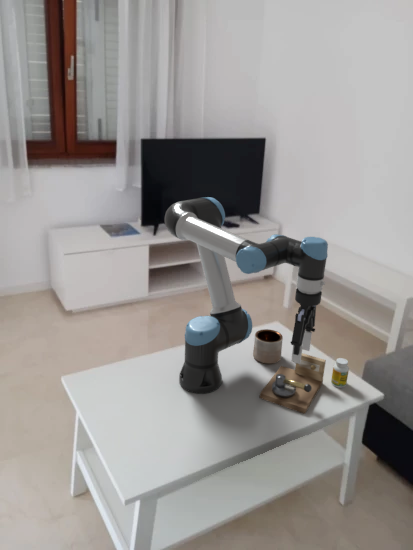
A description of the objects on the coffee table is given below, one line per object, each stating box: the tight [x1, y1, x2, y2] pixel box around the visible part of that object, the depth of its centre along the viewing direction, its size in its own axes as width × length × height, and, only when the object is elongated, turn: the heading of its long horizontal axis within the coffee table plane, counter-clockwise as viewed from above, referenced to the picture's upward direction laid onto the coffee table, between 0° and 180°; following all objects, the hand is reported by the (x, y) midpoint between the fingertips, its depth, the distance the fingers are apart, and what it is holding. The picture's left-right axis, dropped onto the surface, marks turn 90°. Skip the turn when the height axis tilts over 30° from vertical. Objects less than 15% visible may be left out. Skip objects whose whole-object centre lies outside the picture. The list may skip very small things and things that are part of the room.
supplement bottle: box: [330, 357, 350, 389], centre depth 169 cm, size 5×5×10 cm
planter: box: [252, 328, 284, 365], centre depth 184 cm, size 11×11×10 cm
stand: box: [259, 352, 326, 414], centre depth 164 cm, size 16×20×10 cm
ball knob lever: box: [272, 374, 312, 398], centre depth 159 cm, size 13×8×6 cm, turn 61°
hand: (300, 355), depth 149 cm, fingers open, 8 cm apart
